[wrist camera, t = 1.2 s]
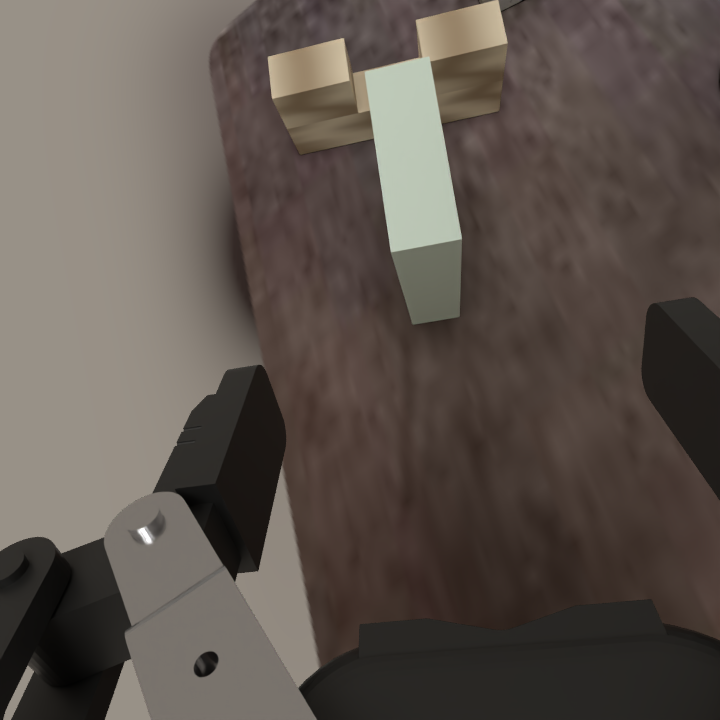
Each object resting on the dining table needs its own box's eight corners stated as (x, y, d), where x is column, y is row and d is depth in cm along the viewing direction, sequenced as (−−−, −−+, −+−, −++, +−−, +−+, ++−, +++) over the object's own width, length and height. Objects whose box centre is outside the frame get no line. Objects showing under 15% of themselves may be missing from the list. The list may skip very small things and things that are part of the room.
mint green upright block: (393, 198, 36) (364, 71, 25) (437, 189, 36) (429, 56, 24) (412, 324, 34) (391, 252, 23) (459, 316, 34) (462, 238, 22)
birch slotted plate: (491, 73, 37) (498, -1, 31) (499, 111, 36) (507, 43, 30) (295, 118, 39) (267, 56, 33) (300, 154, 38) (272, 98, 32)
